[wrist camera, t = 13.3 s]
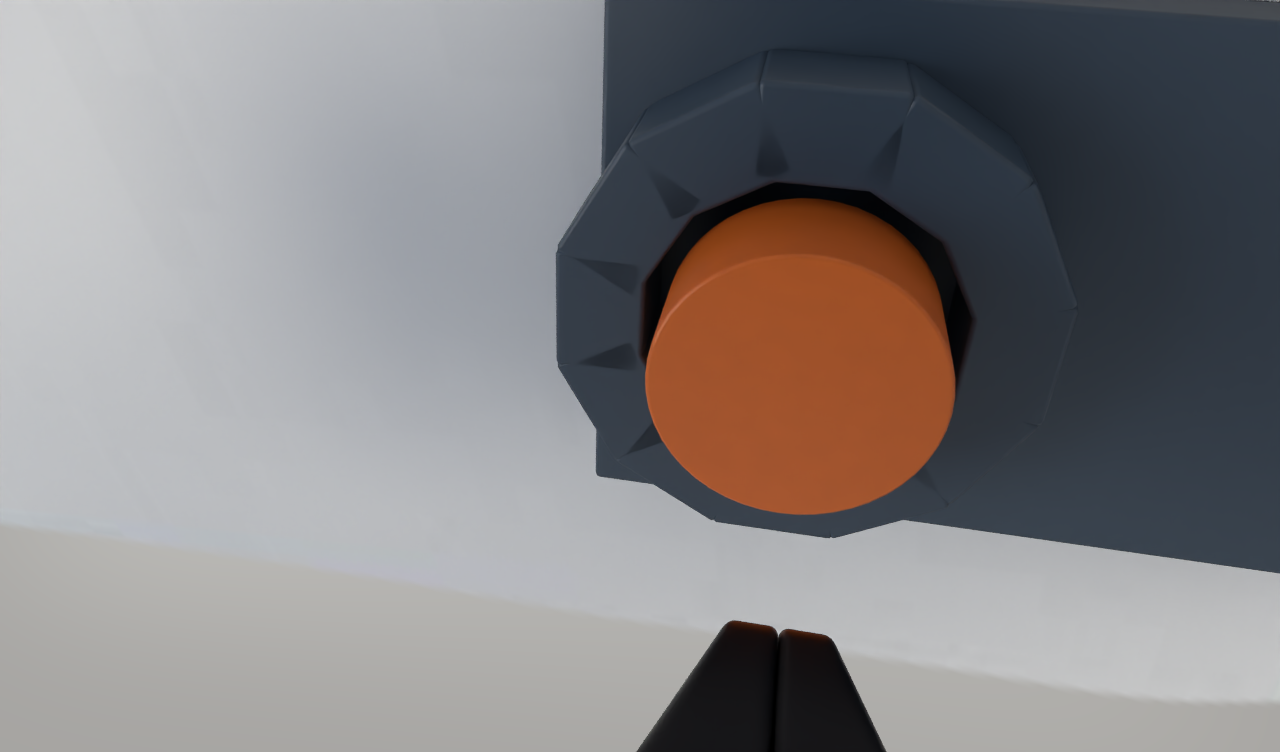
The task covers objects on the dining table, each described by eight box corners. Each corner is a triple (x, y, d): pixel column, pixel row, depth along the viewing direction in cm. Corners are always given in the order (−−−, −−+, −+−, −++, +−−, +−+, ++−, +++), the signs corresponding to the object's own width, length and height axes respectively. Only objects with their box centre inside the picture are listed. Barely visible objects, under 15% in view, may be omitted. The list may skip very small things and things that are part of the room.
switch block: (598, 428, 18) (556, 537, 15) (607, -48, 13) (553, -7, 11) (1324, 527, 16) (1414, 667, 13) (1596, 23, 12) (1802, 90, 9)
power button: (660, 419, 14) (638, 494, 13) (674, 183, 12) (650, 237, 11) (913, 453, 14) (922, 535, 12) (971, 212, 12) (989, 275, 10)
